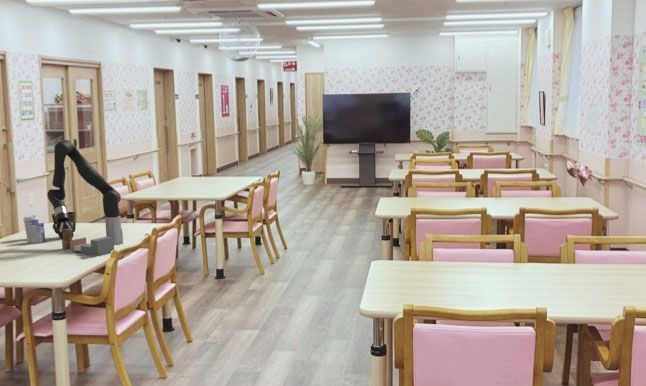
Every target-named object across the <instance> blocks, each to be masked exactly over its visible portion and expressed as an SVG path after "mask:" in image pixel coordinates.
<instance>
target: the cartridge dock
mask: <svg viewBox="0 0 646 386" xmlns="http://www.w3.org/2000/svg"><path fill="white" fill-rule="evenodd" d="M89 242H90V244H91V247H90V246H83V245H82V246H81V251H80V254H81V255H87V256H95V257H101V256H105V255H109V254H112V253H111V251H112V250H114V251H115V245H114V239H113V237H107V236H106V235H105V236H102V237H97V238H93V239H90V240H89Z"/></svg>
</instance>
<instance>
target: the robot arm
mask: <svg viewBox="0 0 646 386" xmlns="http://www.w3.org/2000/svg"><path fill="white" fill-rule="evenodd" d="M53 151H54V152H53V153H54V154H53V157H54V159H53V160H54V166H53V167H54V169H53V177H52V186H53V187H55V188H58V189H54V188H53V189H52V188H51V189H49V190H48V191H47V195H46V196H47V199H48V200H49V202H50V204H51V205H52V207H53V211H54V214H55V217H56V221H57V224H54V223H53V224H52V229H53V231H54V233H55V234H57V235H58V234H60V237H59V239H61V238H62V239H63V234H62V230H61V229H68V228H69V229H71V230H72V239H73V238H74V233H75V232H76V225H77V224H76V221H75V222H74V223H71V222H70V220H69V216H68V212H69V211H68V210H67V207H66V204H65V203H66V202H65V201H64V200H65V199H66V191H65V181H66V169H65V161H66V158H67V157H68V158H69V159H70V160H71V161H72V162H73V163H74V165H75V167H76V170H77V173H78V175H79V176H80V177H81V178H82V179H83V180H84V181H85V182H86V183H87V184H89V185H90V186H92V187H93V188H95V189H97V190H98V191H99V192H100V193H101V195H102V207H103V212H104V218H105V234H106V235H105V237H106V236H107V237H113V239H114V246H115V245H116V246H117V245H120V244H124V236H123V228H122V221H121V219H122V217H121V211H120V210H119V209H120V208H119V203H120V202H121V198H122V197H121V194H120V193H119V192H118V191H117V190H116V189H115V188H114V187H113V186H112V185H111V184H109V183H108V182H107V180H106V179H105V178H104V177H103V176H102V175H101V174H100V173H99V171H97V169H96V168H95V167H94V166H93V165H92V164H91V163H90V162H89V161H88V160H87V159H86V157H84V156H83V154H81V153H80V151H79V149H78V148H77V147H76V145H74V143H73V142H72V141H70V140H68V139H64V140H61V141H59V142H57V143H55V145H54V149H53ZM70 225H72V226H73V229H72V228H71V226H70ZM57 226H58V227H59V228H60V231H58V229H57ZM62 239H61V240H62Z"/></svg>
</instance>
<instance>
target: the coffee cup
mask: <svg viewBox="0 0 646 386" xmlns="http://www.w3.org/2000/svg"><path fill="white" fill-rule="evenodd" d="M33 220H38V221H39V217H38V215H36V214H35V215H25V216H24V217H23V221H22V222H24V224H23V225H24V229H25V235H26V236H27V231H26V225H27V224H30V223H32V222H33ZM34 222H37V221H34Z"/></svg>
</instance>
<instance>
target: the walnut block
mask: <svg viewBox="0 0 646 386" xmlns="http://www.w3.org/2000/svg"><path fill="white" fill-rule="evenodd" d="M61 230H62V234H63V239H61V244H62V245H61V246H62V247H61V248H62V250H64V251H66V250H71V249H70V241H71V240H73V238H72V230H71V229H69V228H68V229H61Z"/></svg>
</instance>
